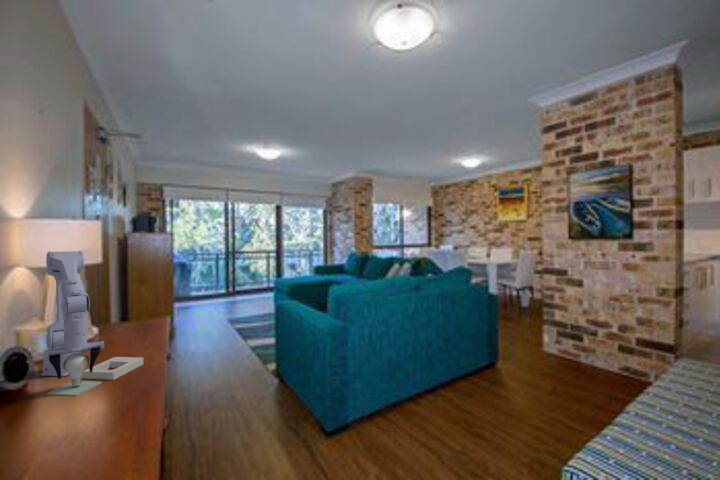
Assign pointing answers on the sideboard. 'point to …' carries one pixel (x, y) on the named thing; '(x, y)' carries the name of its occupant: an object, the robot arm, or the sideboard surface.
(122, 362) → the bulb holder
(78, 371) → the lightbulb
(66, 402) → the sideboard surface
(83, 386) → the mat
